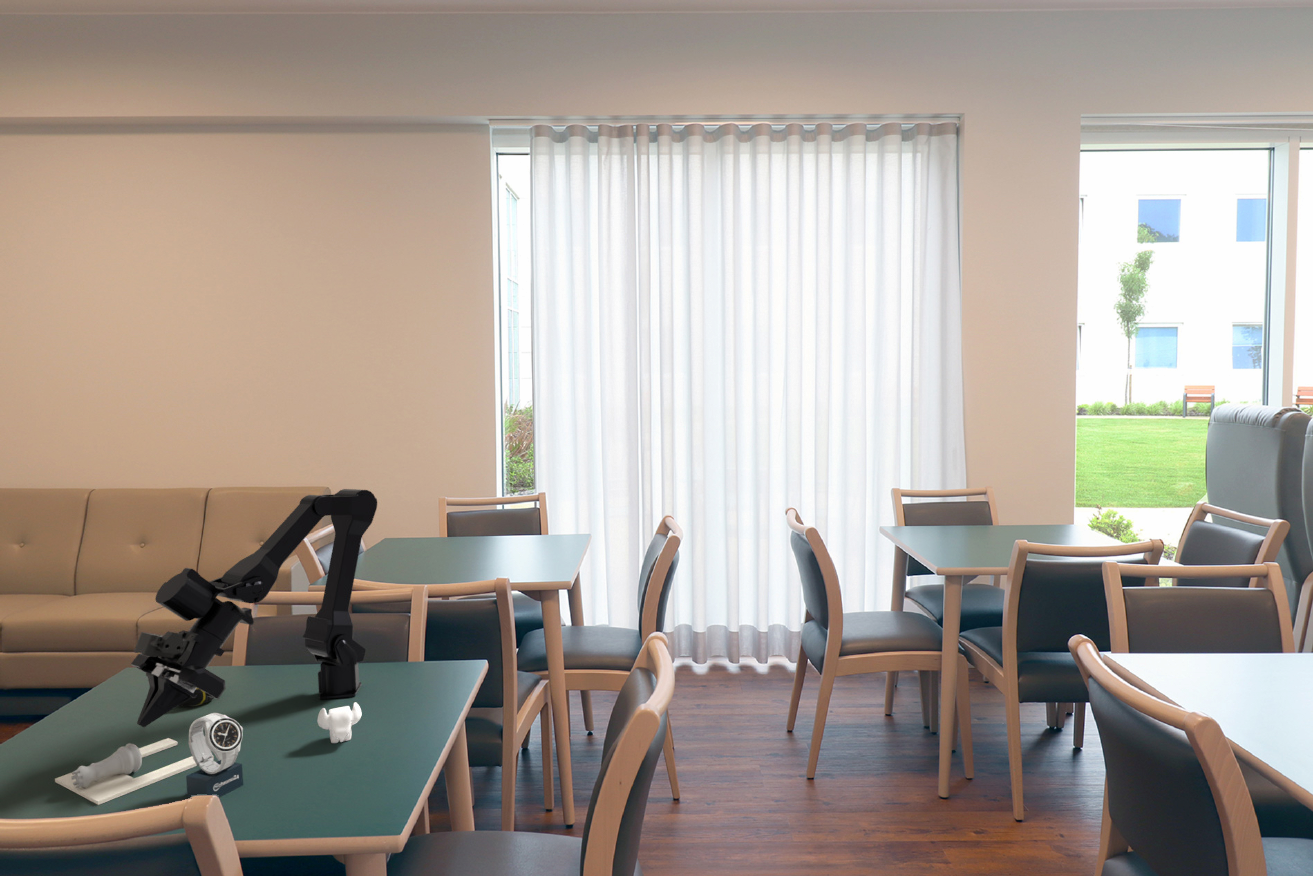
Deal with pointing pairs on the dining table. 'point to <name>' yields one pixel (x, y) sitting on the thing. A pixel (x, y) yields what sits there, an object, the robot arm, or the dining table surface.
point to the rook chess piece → (109, 766)
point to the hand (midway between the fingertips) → (140, 725)
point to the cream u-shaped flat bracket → (128, 777)
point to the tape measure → (197, 699)
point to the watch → (225, 745)
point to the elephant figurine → (339, 721)
